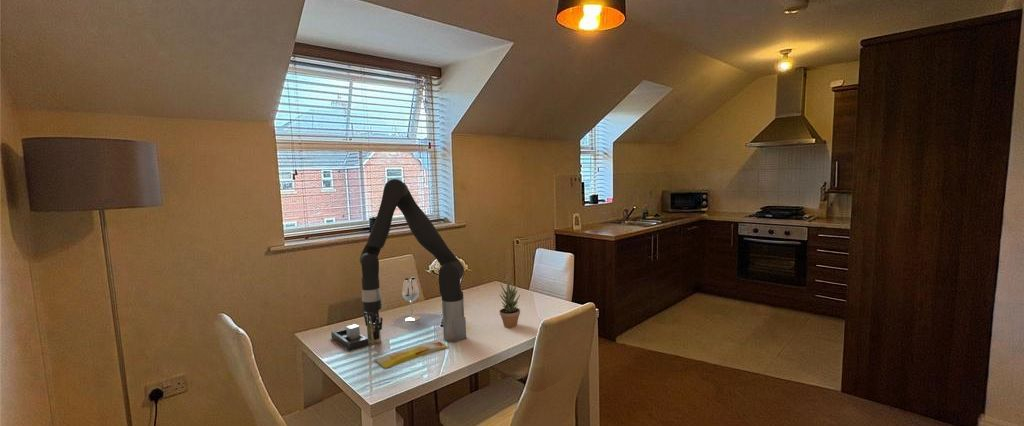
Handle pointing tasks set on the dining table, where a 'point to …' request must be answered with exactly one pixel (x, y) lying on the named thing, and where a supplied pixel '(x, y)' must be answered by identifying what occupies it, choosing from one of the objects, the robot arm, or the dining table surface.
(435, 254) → the robot arm
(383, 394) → the dining table surface
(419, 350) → the food package
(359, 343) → the dark grey tray
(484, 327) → the dining table surface
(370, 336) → the tan rectangular block
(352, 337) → the light grey block
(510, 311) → the potted plant
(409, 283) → the wineglass
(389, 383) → the dining table surface
